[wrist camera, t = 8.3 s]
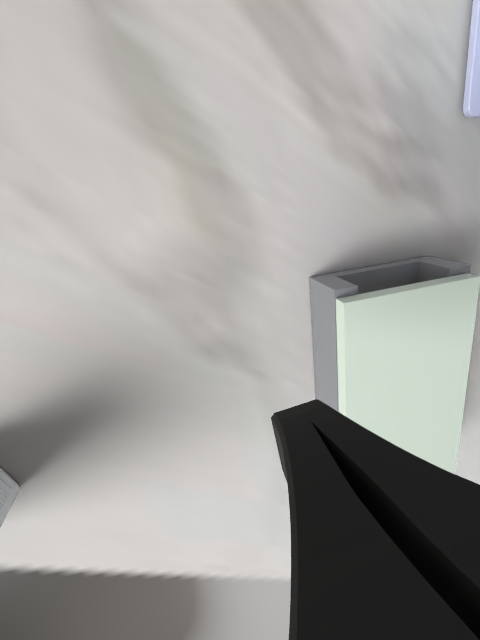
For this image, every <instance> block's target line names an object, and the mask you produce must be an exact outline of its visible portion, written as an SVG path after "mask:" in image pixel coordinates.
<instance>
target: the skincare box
mask: <svg viewBox="0 0 480 640" xmlns="http://www.w3.org/2000/svg"><path fill="white" fill-rule="evenodd" d="M19 490H20V488H19V485H18V484H17V483H16V482H15V481H14V480H13V479H12V478H11V477H10V476H9V475H8V474H7V473H5V472H4V471H3V470H2V469H1V468H0V527H1V525H2V523H3V521H4V519H5V517H6V515H7V513H8V511H9V509H10V507H11V505H12V503H13V501H14V500H15V498H16V496H17V494H18V492H19Z"/></svg>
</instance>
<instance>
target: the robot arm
mask: <svg viewBox="0 0 480 640" xmlns="http://www.w3.org/2000/svg"><path fill="white" fill-rule="evenodd" d="M463 112H464V115H465V116H466V117H468V118H473V117H480V0H473V7H472V17H471V28H470V39H469V49H468V60H467V71H466V81H465V92H464V103H463ZM271 420H272V425H273V429H274V434H275V438H276V442H277V447H278V451H279V456H280V460H281V465H282V469H283V472H284V475H285V478H286V480H287V483H288V493H289V505H290V522H291V605H290V628H289V640H480V485H479V484H476V483H474V482H472V481H469V480H467V479H465V478H462V477H460V476H457V475H455V474H453V473H451V472H448V471H446V470H444V469H442V468H440V467H438V466H435V465H433V464H431V463H429V462H427V461H425V460H423V459H421V458H419V457H417V456H415V455H413V454H411V453H409V452H407V451H405V450H404V449H402V448H400V447H398V446H396V445H394V444H392V443H391V442H389V441H387V440H385V439H384V438H382V437H380V436H378V435H376V434H375V433H373V432H371V431H369V430H368V429H366V428H364V427H363V426H361V425H359V424H358V423H356V422H354V421H353V420H351V419H349V418H348V417H346V416H344V415H343V414H341V413H340V412H338V411H336V410H335V409H333V408H331V407H330V406H328V405H327V404H325V403H323V402H322V401H320V400H318V399H316V400H313V401H310V402H307V403H304V404H301V405H298V406H295V407H291V408H288V409H285V410H282V411H279V412H276V413H274V414H273V416H272V417H271Z"/></svg>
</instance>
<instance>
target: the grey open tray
mask: <svg viewBox="0 0 480 640" xmlns="http://www.w3.org/2000/svg"><path fill="white" fill-rule="evenodd" d="M469 271H470V264H465V263H461V262H456V261H451V260H446V259H441V258H436V257H431V256H424V257H419V258H413V259H408V260H402V261H397V262H391V263H386V264H380V265H375V266H369V267H364V268H358V269H352V270H347V271H341V272H336V273H330V274H325V275H319V276H314V277H309V281H310V300H311V319H312V337H313V356H314V375H315V393H316V399H318V400H320V401H322V402H323V403H325V404H327V405H328V406H330V407H331V408H333V409H335V410H336V411H338V412H339V402H338V363H337V324H336V299H337V298H342V297H347V296H352V295H358V294H363V293H368V292H373V291H378V290H383V289H388V288H393V287H399V286H404V285H409V284H414V283H419V282H424V281H429V280H434V279H440V278H445V277H450V276H455V275H460V274H465V273H469Z"/></svg>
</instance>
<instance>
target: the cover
mask: <svg viewBox="0 0 480 640" xmlns="http://www.w3.org/2000/svg"><path fill="white" fill-rule="evenodd" d="M479 288H480V276H478V275H474V274H469V273H465V274H460V275H455V276H450V277H445V278H440V279H434V280H429V281H424V282H419V283H414V284H409V285H404V286H399V287H393V288H388V289H383V290H378V291H373V292H368V293H363V294H358V295H352V296H347V297H342V298H337V299H336V324H337V363H338V402H339V412H340V413H341V414H343V415H344V416H346V417H348V418H349V419H351V420H353V421H354V422H356V423H358V424H359V425H361V426H363V427H364V428H366V429H368V430H369V431H371V432H373V433H375V434H376V435H378V436H380V437H382V438H384V439H385V440H387V441H389V442H391V443H392V444H394V445H396V446H398V447H400V448H402V449H404V450H405V451H407V452H409V453H411V454H413V455H415V456H417V457H419V458H421V459H423V460H425V461H427V462H429V463H431V464H433V465H435V466H438V467H440V468H442V469H444V470H446V471H448V472H451V473H453V474H455V473H456V465H457V457H458V450H459V442H460V434H461V427H462V419H463V411H464V403H465V396H466V388H467V380H468V373H469V365H470V357H471V349H472V342H473V334H474V326H475V318H476V311H477V303H478V295H479Z"/></svg>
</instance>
